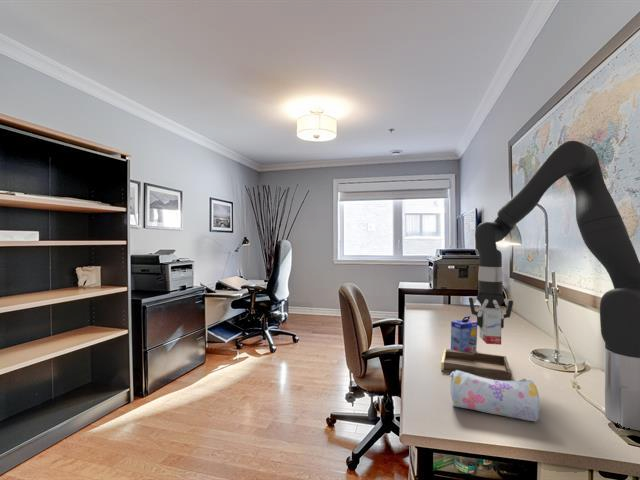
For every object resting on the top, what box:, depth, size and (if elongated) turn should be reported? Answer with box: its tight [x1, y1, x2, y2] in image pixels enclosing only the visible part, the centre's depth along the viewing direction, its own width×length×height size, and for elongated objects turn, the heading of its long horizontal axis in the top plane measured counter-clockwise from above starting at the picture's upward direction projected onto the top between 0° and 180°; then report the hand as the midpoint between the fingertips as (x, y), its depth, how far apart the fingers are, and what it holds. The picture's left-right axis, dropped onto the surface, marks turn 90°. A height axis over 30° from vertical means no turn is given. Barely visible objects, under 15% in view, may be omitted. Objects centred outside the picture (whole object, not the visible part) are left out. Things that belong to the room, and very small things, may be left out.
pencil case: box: [449, 370, 541, 422], centre depth 86 cm, size 21×9×10 cm, turn 70°
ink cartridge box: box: [450, 315, 478, 353], centre depth 134 cm, size 10×6×14 cm, turn 117°
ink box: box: [478, 304, 502, 345], centre depth 114 cm, size 9×5×12 cm, turn 168°
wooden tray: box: [440, 348, 512, 381], centre depth 116 cm, size 16×21×3 cm
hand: (490, 327), depth 114 cm, fingers closed on ink box, 5 cm apart
